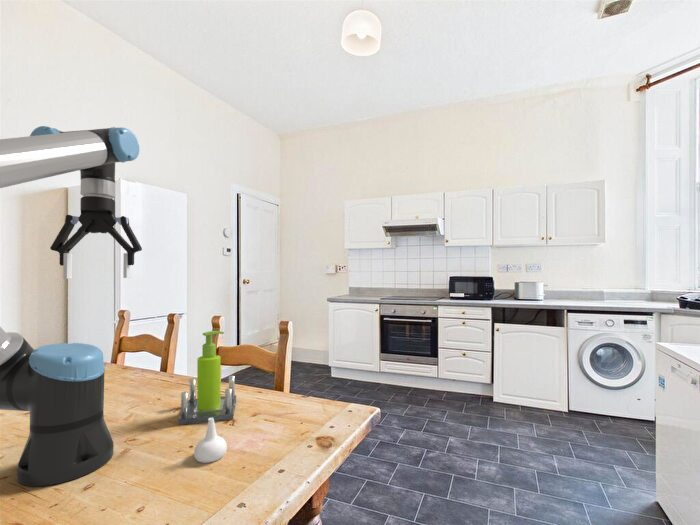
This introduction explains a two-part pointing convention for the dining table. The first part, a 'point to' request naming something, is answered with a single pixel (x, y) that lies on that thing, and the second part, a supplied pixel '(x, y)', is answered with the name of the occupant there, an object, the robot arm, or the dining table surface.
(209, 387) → the soap dispenser
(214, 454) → the garlic bulb
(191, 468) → the dining table surface
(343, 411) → the dining table surface
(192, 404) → the display stand
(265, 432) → the dining table surface
